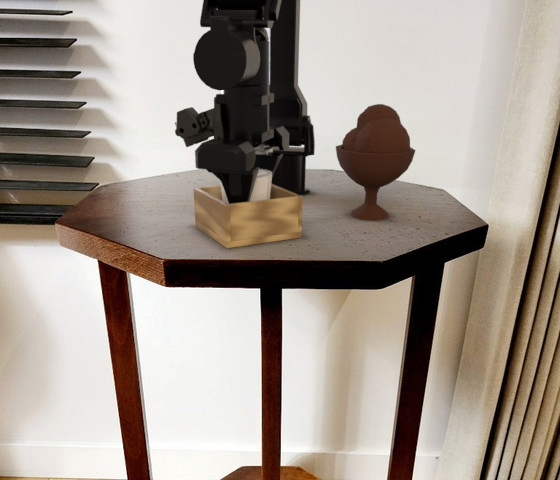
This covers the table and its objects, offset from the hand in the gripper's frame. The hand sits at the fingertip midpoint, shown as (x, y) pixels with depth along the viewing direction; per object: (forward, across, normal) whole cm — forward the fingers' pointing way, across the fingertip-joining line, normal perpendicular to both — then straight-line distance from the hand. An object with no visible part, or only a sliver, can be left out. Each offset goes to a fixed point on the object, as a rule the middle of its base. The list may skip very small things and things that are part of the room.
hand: (247, 214), depth 80 cm
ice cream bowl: (+2, -14, +14) cm, 20 cm away
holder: (+2, 0, 0) cm, 2 cm away
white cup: (+2, 0, 0) cm, 2 cm away
